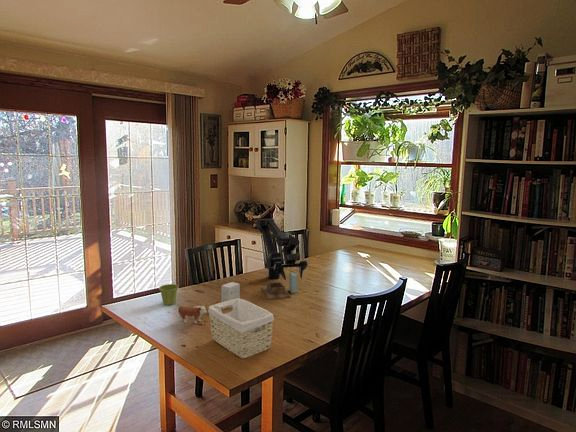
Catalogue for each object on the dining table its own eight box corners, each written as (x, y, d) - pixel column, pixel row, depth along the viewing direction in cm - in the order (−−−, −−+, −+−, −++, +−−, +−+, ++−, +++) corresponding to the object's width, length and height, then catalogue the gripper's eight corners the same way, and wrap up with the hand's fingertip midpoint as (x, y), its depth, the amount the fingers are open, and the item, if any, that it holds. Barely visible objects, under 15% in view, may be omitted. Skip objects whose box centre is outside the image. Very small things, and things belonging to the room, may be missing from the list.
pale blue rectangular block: (291, 292, 222) (291, 275, 221) (289, 290, 227) (289, 272, 225) (296, 292, 223) (297, 275, 221) (294, 289, 228) (294, 272, 226)
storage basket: (275, 349, 157) (275, 313, 154) (241, 362, 146) (241, 324, 144) (240, 329, 174) (239, 296, 172) (207, 340, 163) (206, 305, 161)
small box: (232, 301, 208) (231, 281, 207) (240, 303, 205) (240, 283, 204) (221, 305, 202) (220, 285, 200) (229, 308, 199) (229, 287, 197)
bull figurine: (205, 325, 178) (205, 307, 177) (177, 323, 180) (176, 305, 179) (209, 321, 182) (209, 304, 181) (181, 319, 184) (181, 302, 183)
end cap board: (268, 299, 212) (268, 290, 211) (261, 288, 229) (261, 280, 228) (290, 297, 215) (290, 289, 214) (282, 287, 232) (282, 279, 231)
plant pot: (171, 307, 198) (170, 290, 197) (155, 305, 201) (155, 288, 200) (182, 301, 207) (182, 285, 205) (167, 299, 210) (166, 283, 209)
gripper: (275, 248, 224) (279, 272, 215) (307, 246, 229) (312, 270, 220) (272, 258, 233) (276, 282, 224) (302, 257, 238) (308, 280, 229)
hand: (293, 279), depth 224 cm, fingers open, 9 cm apart
